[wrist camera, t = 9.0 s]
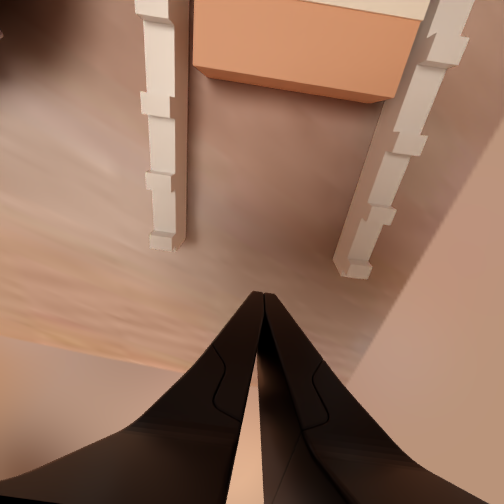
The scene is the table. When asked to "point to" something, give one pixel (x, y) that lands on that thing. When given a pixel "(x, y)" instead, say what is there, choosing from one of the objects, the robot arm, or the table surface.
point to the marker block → (308, 44)
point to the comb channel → (379, 154)
